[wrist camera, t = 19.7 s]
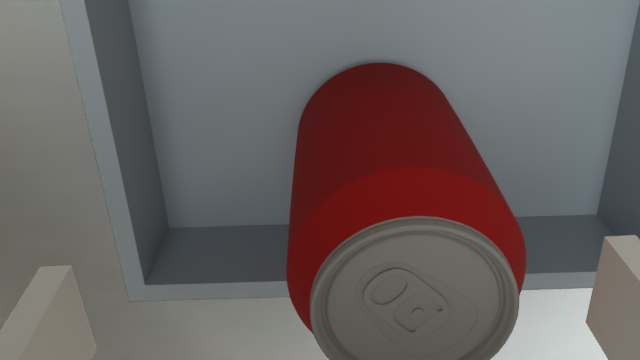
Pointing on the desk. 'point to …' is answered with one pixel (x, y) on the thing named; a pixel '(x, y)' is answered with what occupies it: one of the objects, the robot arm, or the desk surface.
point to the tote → (299, 86)
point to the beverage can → (398, 225)
